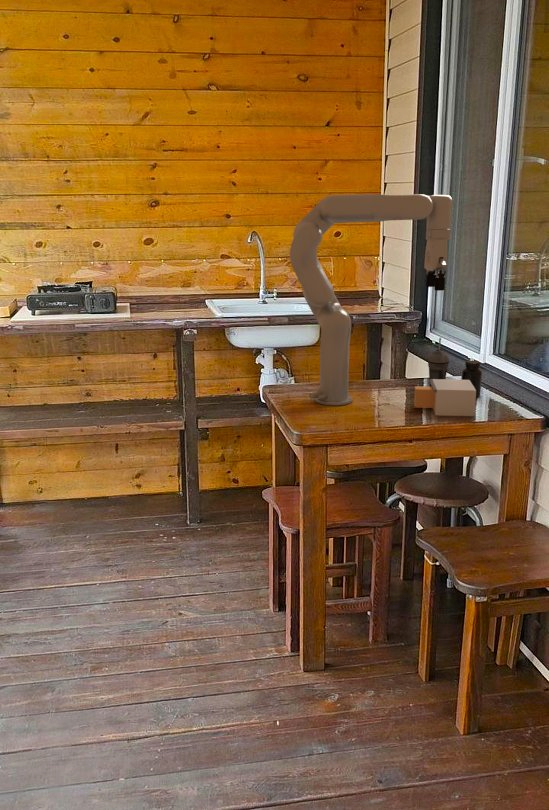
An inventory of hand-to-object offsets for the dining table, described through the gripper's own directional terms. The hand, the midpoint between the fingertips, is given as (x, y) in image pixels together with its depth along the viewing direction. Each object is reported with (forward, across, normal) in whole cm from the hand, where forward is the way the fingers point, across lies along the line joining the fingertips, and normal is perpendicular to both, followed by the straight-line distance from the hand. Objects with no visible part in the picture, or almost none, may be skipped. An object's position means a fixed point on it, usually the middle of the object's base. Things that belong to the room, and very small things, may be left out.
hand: (435, 288), depth 245 cm
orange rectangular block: (+36, +13, -2) cm, 39 cm away
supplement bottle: (+38, -2, +15) cm, 41 cm away
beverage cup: (+38, -6, +4) cm, 38 cm away
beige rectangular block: (+37, +14, +4) cm, 40 cm away
